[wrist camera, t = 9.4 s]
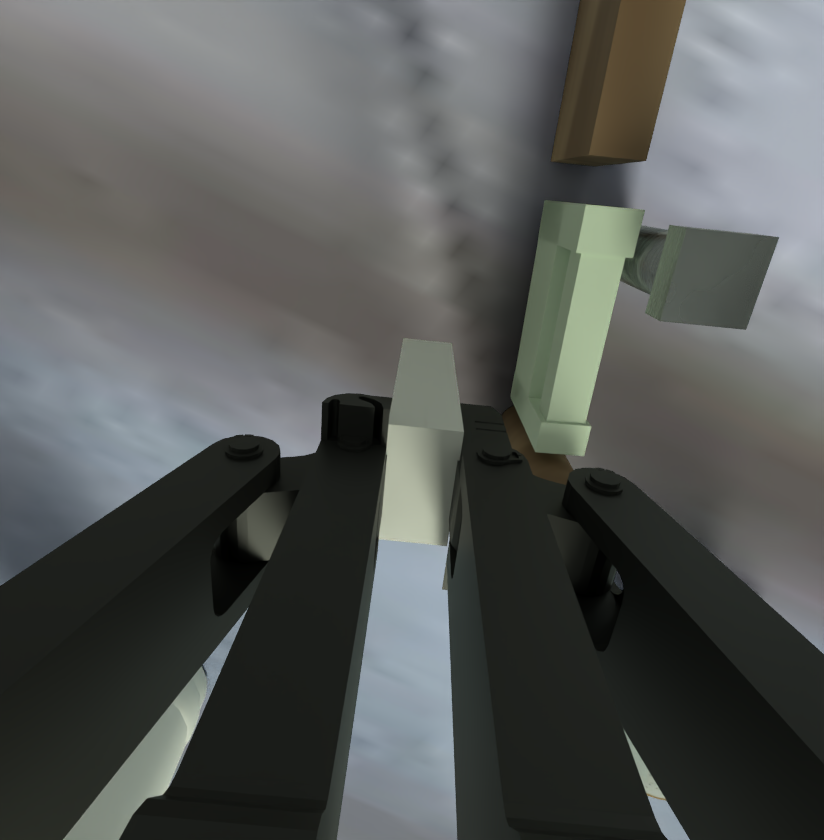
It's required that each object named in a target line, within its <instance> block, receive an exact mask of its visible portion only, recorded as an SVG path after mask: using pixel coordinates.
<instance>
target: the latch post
mask: <svg viewBox="0 0 824 840" xmlns="http://www.w3.org/2000/svg"><path fill="white" fill-rule="evenodd" d="M778 239H779V237H773V236H766V235H758V234H750V233H740V232H731V231H721V230H712V229H702V228H692V227H683V226H673V225H670V226H669V229H668V230H665V229H659V228H653V227H647V226H642V225H641V228H640V232H639V236H638V240H637V244H636V248H635V252H634V256H633V258H626V257H625V261H624V266H623V270H622V274H621V278H620V281H622V282H624V283H626V284H628V285H630V286H632V287H635V288H637V289H639V290H641V291H643V292H646V293H648V294H650V298H649V301H648V305H647V309H646V312H645V313H646V314H648V315H650V316H652V317H653V318H655V319H657V320H659V321H664V322H674V323H684V324H695V325H705V326H715V327H725V328H735V329H745V330H746V328H747V325H748V322H749V320H750V317H751V314H752V311H753V308H754V306H755V303H756V300H757V297H758V295H759V292H760V289H761V286H762V283H763V281H764V278H765V275H766V272H767V270H768V267H769V264H770V261H771V258H772V256H773V253H774V250H775V247H776V245H777V242H778Z"/></svg>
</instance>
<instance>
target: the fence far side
mask: <svg viewBox="0 0 824 840" xmlns="http://www.w3.org/2000/svg"><path fill="white" fill-rule="evenodd" d="M685 2H686V0H580V4H579V9H578V15H577V20H576V26H575V31H574V37H573V42H572V48H571V53H570V59H569V64H568V70H567V75H566V81H565V86H564V92H563V97H562V102H561V108H560V113H559V119H558V124H557V130H556V135H555V141H554V146H553V152H552V157H551V162H559V163H568V164H578V165H587V166H604V165H613V164H622V163H631V162H640V161H646V159H647V155H648V151H649V147H650V143H651V139H652V135H653V131H654V127H655V123H656V119H657V115H658V111H659V107H660V103H661V99H662V95H663V91H664V87H665V83H666V79H667V75H668V71H669V67H670V62H671V58H672V54H673V50H674V46H675V42H676V38H677V34H678V30H679V26H680V22H681V18H682V14H683V10H684V6H685Z"/></svg>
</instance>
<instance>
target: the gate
mask: <svg viewBox="0 0 824 840" xmlns="http://www.w3.org/2000/svg"><path fill="white" fill-rule="evenodd" d="M644 212H645V210H639V209H630V208H620V207H610V206H600V205H591V204H580V203H570V202H559V201H549V200H545V201H544V207H543V213H542V219H541V224H540V230H539V236H538V237H539V239H538V245H537V250H536V256H535V262H534V268H533V273H532V279H531V285H530V290H529V296H528V302H527V308H526V313H525V319H524V325H523V330H522V336H521V342H520V348H519V353H518V359H517V365H516V370H515V373H514V379H513V385H512V390H511V396H510V398H511V400H512V402H513V404H514V406H515V409H516V411H517V413H518V415H519V417H520V420H521V422H522V424H523V426H524V428H525V431H526V433H527V435H528V437H529V439H530V442H531V444H532V446H533V448H534V450H535V452H539V453H551V454H564V455H576V456H584V454H585V450H586V446H587V442H588V438H589V434H590V430H591V425H590V424H589V423H588V421H587V420H586V419H587V414H588V410H589V406H590V402H591V398H592V394H593V390H594V385H595V381H596V377H597V373H598V369H599V365H600V361H601V356H602V352H603V348H604V344H605V340H606V336H607V332H608V328H609V323H610V319H611V315H612V311H613V307H614V303H615V299H616V294H617V290H618V286H619V282H620V278H621V274H622V270H623V266H624V261H625V257H626V258H633V256H634V252H635V248H636V244H637V240H638V236H639V232H640V228H641V224H642V220H643V216H644Z"/></svg>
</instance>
